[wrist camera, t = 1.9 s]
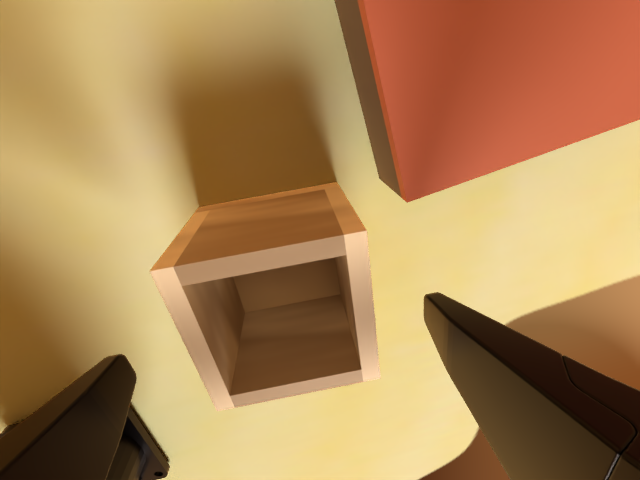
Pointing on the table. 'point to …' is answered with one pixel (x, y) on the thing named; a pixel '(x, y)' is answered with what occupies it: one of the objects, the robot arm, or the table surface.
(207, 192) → the table surface
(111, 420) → the robot arm
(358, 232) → the masu
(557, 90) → the red square block
